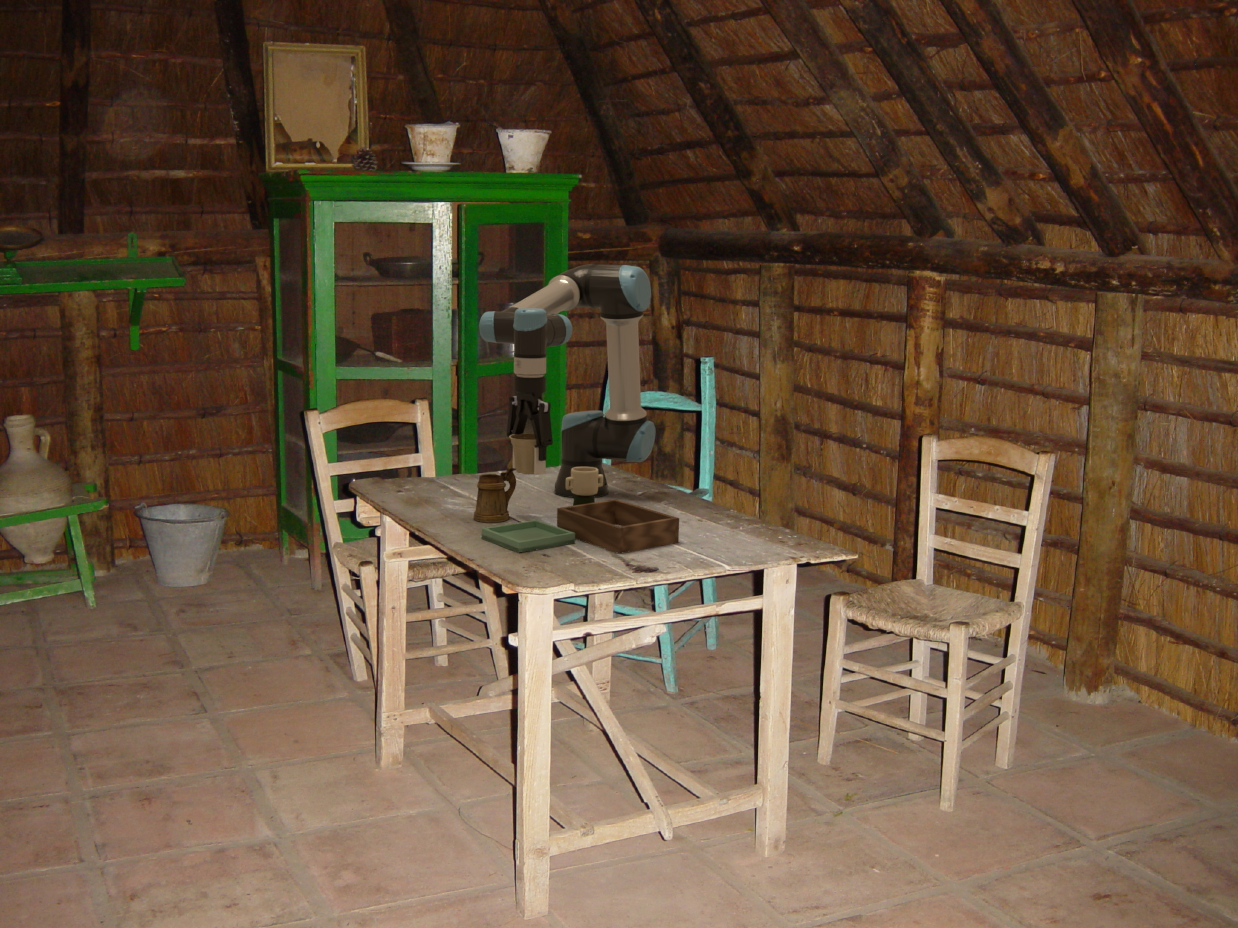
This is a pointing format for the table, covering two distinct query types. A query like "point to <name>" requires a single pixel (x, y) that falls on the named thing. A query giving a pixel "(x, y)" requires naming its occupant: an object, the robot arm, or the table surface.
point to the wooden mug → (494, 496)
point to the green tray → (528, 536)
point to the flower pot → (524, 452)
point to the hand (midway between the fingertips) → (528, 470)
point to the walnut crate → (635, 523)
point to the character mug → (584, 484)
